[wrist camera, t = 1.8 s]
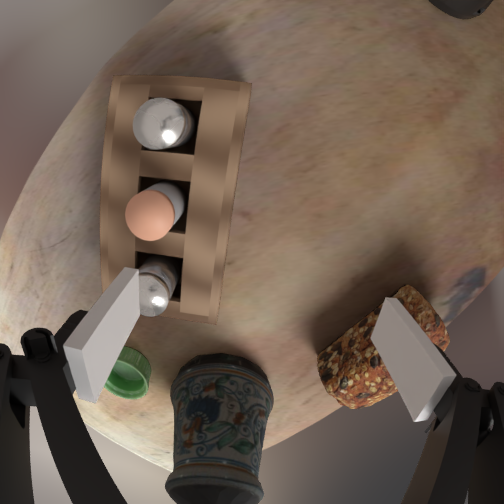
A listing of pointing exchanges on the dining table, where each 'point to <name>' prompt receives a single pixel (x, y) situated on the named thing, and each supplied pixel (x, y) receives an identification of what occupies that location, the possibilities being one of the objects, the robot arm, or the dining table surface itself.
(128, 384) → the ramekin
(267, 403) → the beer stein
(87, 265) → the dining table surface
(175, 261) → the plug
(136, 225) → the plug terracotta
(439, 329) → the bread
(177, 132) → the plug
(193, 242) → the block
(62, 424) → the robot arm
